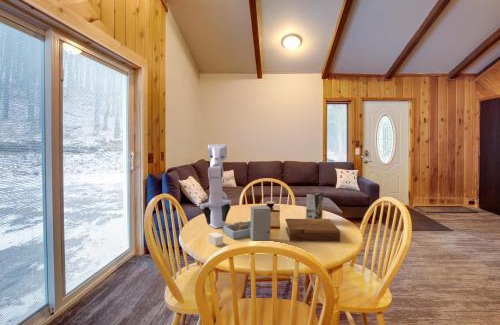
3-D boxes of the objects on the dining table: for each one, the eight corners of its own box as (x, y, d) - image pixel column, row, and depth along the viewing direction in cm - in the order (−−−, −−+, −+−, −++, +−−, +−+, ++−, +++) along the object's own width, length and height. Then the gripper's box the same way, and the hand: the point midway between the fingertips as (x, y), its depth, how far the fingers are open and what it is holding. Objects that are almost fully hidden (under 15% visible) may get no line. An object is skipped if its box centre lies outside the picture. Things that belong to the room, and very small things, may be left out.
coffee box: (316, 224, 154) (316, 195, 152) (305, 221, 158) (306, 193, 156) (322, 220, 161) (323, 192, 159) (312, 218, 165) (312, 191, 163)
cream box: (208, 242, 127) (208, 233, 127) (216, 240, 130) (216, 232, 129) (215, 246, 123) (215, 237, 122) (223, 244, 125) (223, 235, 125)
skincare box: (253, 243, 125) (253, 209, 124) (249, 238, 132) (249, 205, 131) (271, 242, 127) (271, 208, 126) (266, 236, 134) (266, 204, 133)
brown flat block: (289, 242, 128) (289, 230, 128) (285, 229, 147) (285, 218, 146) (340, 242, 128) (340, 230, 127) (329, 229, 146) (329, 218, 146)
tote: (223, 232, 140) (223, 226, 139) (253, 226, 149) (253, 220, 149) (233, 239, 130) (233, 232, 130) (265, 232, 140) (265, 225, 140)
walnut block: (234, 231, 140) (234, 223, 140) (241, 230, 142) (241, 221, 142) (240, 235, 135) (240, 226, 135) (247, 233, 137) (247, 224, 137)
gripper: (204, 196, 117) (205, 227, 118) (234, 192, 125) (234, 222, 126) (198, 193, 123) (198, 223, 124) (227, 190, 131) (227, 218, 132)
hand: (216, 222), depth 126 cm, fingers open, 7 cm apart
